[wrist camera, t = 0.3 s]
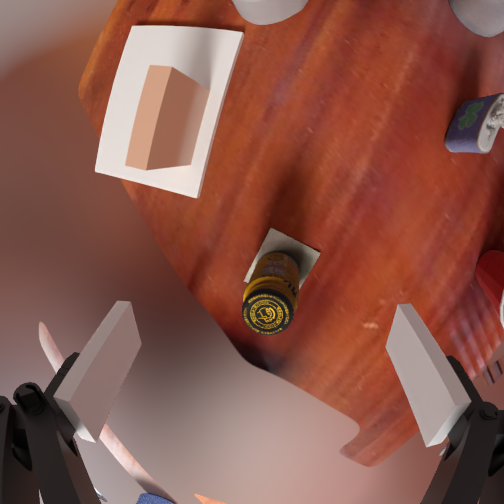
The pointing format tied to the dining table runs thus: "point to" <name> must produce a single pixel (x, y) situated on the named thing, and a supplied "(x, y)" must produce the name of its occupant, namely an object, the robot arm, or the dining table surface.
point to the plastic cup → (492, 278)
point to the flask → (476, 125)
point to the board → (131, 85)
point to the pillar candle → (480, 15)
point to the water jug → (152, 499)
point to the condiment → (276, 283)
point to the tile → (166, 120)
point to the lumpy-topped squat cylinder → (268, 10)
